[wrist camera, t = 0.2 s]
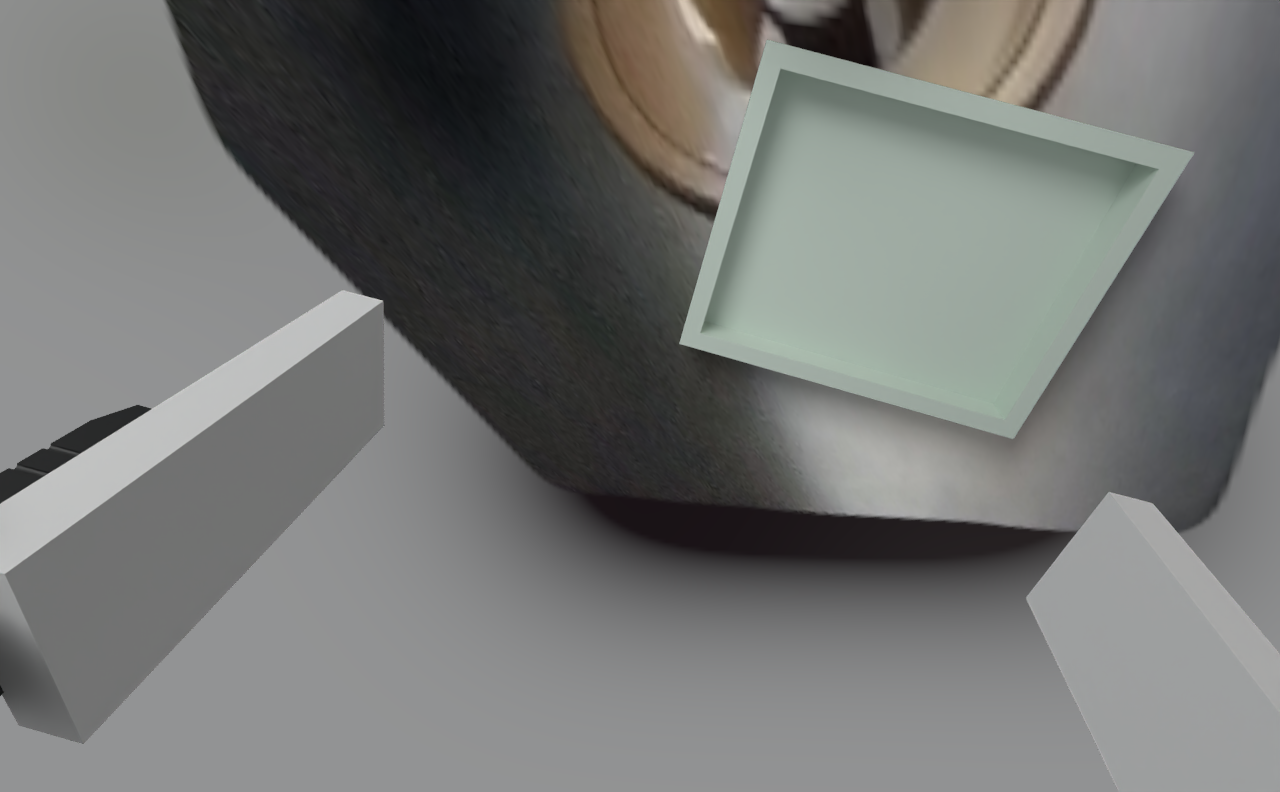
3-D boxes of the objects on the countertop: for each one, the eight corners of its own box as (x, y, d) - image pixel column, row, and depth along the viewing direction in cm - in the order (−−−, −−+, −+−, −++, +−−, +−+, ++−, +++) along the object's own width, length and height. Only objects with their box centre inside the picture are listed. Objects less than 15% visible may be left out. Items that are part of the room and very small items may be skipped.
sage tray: (766, 41, 32) (766, 39, 29) (1158, 145, 31) (1194, 152, 28) (684, 325, 40) (679, 343, 37) (996, 414, 39) (1013, 439, 36)
